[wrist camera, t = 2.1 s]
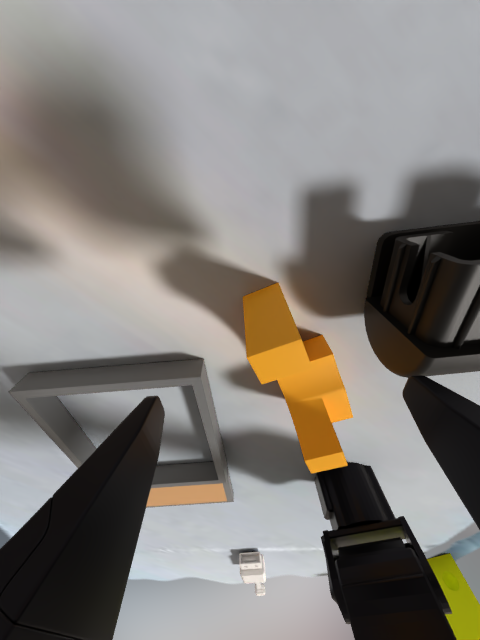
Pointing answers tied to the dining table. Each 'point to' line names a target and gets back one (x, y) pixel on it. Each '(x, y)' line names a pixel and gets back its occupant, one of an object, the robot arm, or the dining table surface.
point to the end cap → (426, 300)
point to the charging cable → (253, 570)
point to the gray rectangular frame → (59, 425)
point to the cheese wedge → (457, 598)
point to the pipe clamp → (297, 375)
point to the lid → (191, 494)
